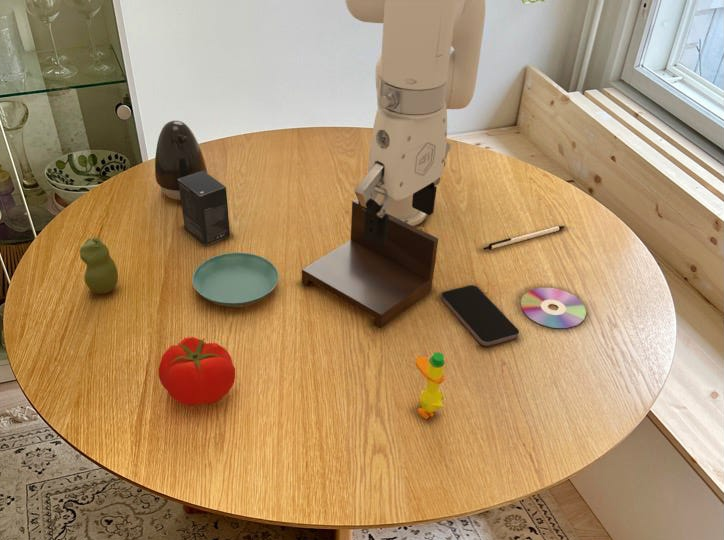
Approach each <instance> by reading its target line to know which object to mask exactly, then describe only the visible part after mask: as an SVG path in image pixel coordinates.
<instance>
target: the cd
mask: <svg viewBox="0 0 724 540" xmlns="http://www.w3.org/2000/svg"><path fill="white" fill-rule="evenodd" d="M550 305H554V306H556V307H557V309H556V310H554V309H551V308H549V306H550ZM520 307H521V311H522V312H523V313H524V314H525V315H526V316H527V317H528V319H530V320H532V321H533V322H535V323H537V324H539V325H540V326H545V327H549V328H552V329H568V328H573V327H576V326H578V325H580V324H581V323H582V322H583V321H584V320H585V318H586V316H587V315H586V314H587V310H586V307H585V304H584V303H583V302H582V301H581V300H580V299H579V298H578V297H577V296H576V295H574V294H572V293H570V292H568V291H566V290H563V289H558V288H555V287H537V288H534V289H530V290H529V291H528V292H526V293H524V294H523V295H522V298H521V299H520Z"/></svg>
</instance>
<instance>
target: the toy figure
mask: <svg viewBox="0 0 724 540" xmlns="http://www.w3.org/2000/svg"><path fill="white" fill-rule="evenodd" d="M414 361H415V366H416V369H417V370H418V371H419V372H420V374H422V376H423V377H424V378H425V379H426V388H424V389H423V391H422V392H420V397H419V401H418V403H419V405H420V407H419V408H418V409H417V413H418V414H419V416H420V417H422V418H423V419H425V420H427V419H429V418H432V417H434V415H435V414H434V412H436V411H437V410H439V409H440V408H442V407H444V405H443V403H442V402H443V400H444V397H445V394H444V393H443V392H442V391H440V390H439V388H440V385H441V384H442V383H443V382H444V381H445V375H444V370H445V369H444V368H445V363H446V361H445V356H444V353H441V352H434V353H433V354H432V355H431V356H430V357H429V358H427V357H425V356H420V355H418V356H416V357H414Z"/></svg>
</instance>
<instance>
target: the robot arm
mask: <svg viewBox="0 0 724 540" xmlns="http://www.w3.org/2000/svg"><path fill="white" fill-rule="evenodd" d="M344 1H345V6H346V8H347V10H348V12H349V13H350V15H351V17H353V18H355V19H356V20H358V21H360V22H363V23H370V24H371V23H372V24H382V38H381V39H382V40H381V53H380V55H379V57H378V59H377V61H376V65H375V73H374V74H375V77H374V78H375V91H376V100H377V101H376V103H377V110H376V113H375V118H374V123H373V126H372V133H371V138H370V146H369V152H368V153H369V154H368V163H367V164H368V165H367V173H366V174H365V176H363V178H362V180H360V182H358V184H357V185H356V187H355V188H354V194H355V196H356V199H358V204H359V205H360V206H361V207H362V208H363V210H365V211H366V214H365V231H364V234H365V236H366V237H368V238H370V239H372V240H374V241H376V242H378V243H380V244H384V243H386V241H387V231H388V219H389V216H388V215H387V214H389V215H391V216H393V217H395V218H397V219H399V220H401V221H403V222H405V223H408V224H410V225H412V226H414V227H416V226H418V225H419V224H421V223H423V221H425V220H426V218H427V215H428V216H431V215H433V214H434V211H435V204H436V196H437V186H438V185H439V184H440V182H441V176H442V175H443V174H444V169H445V166H446V159H447V157H448V154H449V151H450V149H451V144H450V143H449V142H447V138H448V111H447V110H461V109H465V108H467V107H468V106H469V105H470V104H471V102H472V101H473V97H474V94H475V90H476V84H477V78H478V70H479V64H480V56H481V49H482V42H483V34H484V28H485V18H486V0H344ZM452 49H453V50H452ZM385 213H387V214H385Z"/></svg>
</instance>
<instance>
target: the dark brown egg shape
mask: <svg viewBox="0 0 724 540" xmlns="http://www.w3.org/2000/svg"><path fill="white" fill-rule="evenodd" d="M200 171H205V172H206V173H207V174H208V169H207V165H206V161H205V157H204V154H203V152H202V149H201V147H200V144H199V142H198V140H197V138H196V136H195V134H194V132H193V131H192V130H191V129H190V127H189V126H188V125H187V124H186V123H185V122H183V121H181V120H171V121H168V122H166V123H165V124H164V125H163V127H162V129H161V131H160V133H159V136H158V139H157V144H156V149H155V158H154V177H155V181H156V183H157V184H158V186H159V188H160V190H161V191H162V192H163V193H164V194H165V196H167V197H168V198H171V199H172V200H176V201H181V198H180V191H179V184H178V179H179V178H181V177H185V176H188V175H191V174H194V173H197V172H200Z"/></svg>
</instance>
